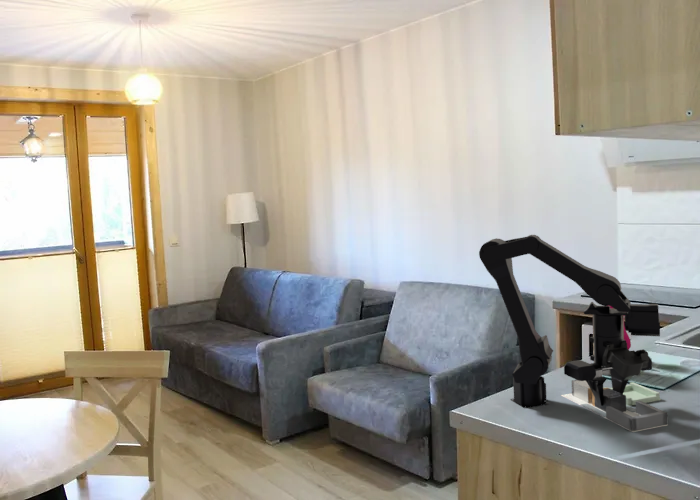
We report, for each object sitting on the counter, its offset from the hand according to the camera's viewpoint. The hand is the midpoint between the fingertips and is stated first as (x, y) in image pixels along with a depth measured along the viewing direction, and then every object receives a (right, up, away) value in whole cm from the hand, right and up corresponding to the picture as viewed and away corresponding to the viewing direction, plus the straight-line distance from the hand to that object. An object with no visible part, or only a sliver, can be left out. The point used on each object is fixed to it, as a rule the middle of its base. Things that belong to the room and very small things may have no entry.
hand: (608, 403), depth 138 cm
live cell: (0, -1, 0) cm, 1 cm away
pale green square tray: (+8, -1, +6) cm, 10 cm away
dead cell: (-2, 0, +7) cm, 8 cm away
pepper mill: (+17, +3, +37) cm, 41 cm away
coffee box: (+11, +2, +27) cm, 29 cm away
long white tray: (0, -2, 0) cm, 2 cm away
